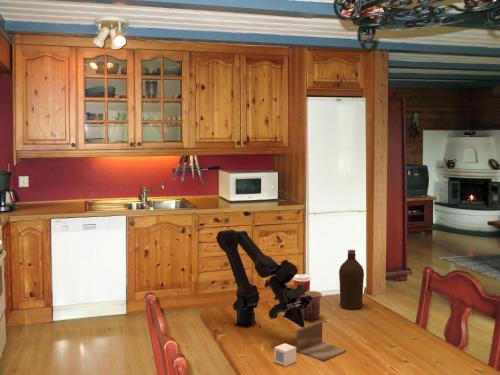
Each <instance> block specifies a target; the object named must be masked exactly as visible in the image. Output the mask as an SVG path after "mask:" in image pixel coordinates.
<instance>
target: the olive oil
mask: <svg viewBox="0 0 500 375" xmlns="http://www.w3.org/2000/svg"><path fill="white" fill-rule="evenodd" d="M364 270H365V269H364V268H363V266H362V265H361V263H360V262H359V261H358V260H357V259H356V249H348V250H347V259H346V260H345V261H344V262H343V263H342V264H341V265H340V268H339V269H338V275H339V276H338V278H339V280H338V282H339V302H340V303H339V304H340V305H339V306H340V307H341V308H342V309H344V310H348V311H349V310H351V311H357V310H360V309H362V307H363V294H364V280H365V279H364V277H365V271H364Z"/></svg>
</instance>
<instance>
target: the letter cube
mask: <svg viewBox="0 0 500 375" xmlns="http://www.w3.org/2000/svg"><path fill="white" fill-rule="evenodd" d="M273 350H274V363H277V364H279V365H281V366H284V367H287V366H289V365H292V364H293V363H296V362H297V346H293V345H291V344H288V343H286V342H285V343H282V344H279V345H277V346H274V348H273Z"/></svg>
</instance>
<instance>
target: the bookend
mask: <svg viewBox="0 0 500 375" xmlns="http://www.w3.org/2000/svg"><path fill="white" fill-rule="evenodd" d="M296 353H299V354H301V355H305V356H308V357H309V358H313V359H315V360H318V361H320V362H323V363H325V362H327V361H329V360H331V359H333V358H336V357H337V356H338V357H339V356H340V355H342V354H345V353H347V349H345V348H342V347H339V346H336V345H333V344H330V343H327V342H324V341H323V321H320V320H319V321H316V322H313V323H311V324H308V325H305V326H304V327H300V328H297V329H296Z"/></svg>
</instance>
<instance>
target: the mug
mask: <svg viewBox="0 0 500 375" xmlns="http://www.w3.org/2000/svg"><path fill="white" fill-rule="evenodd" d="M305 295H311V297H312V299H313V301H312V302H311V303H310V304H309V305H308V306H307V307H306V308H304V309H302V315H303V319H304V320H306V321H317V320H319V319H320V317H321V300H322V295H323V294H322V292H321V291H316V290H310V291H307V292H305ZM305 295H302V296H305ZM302 296H301V297H302Z"/></svg>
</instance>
